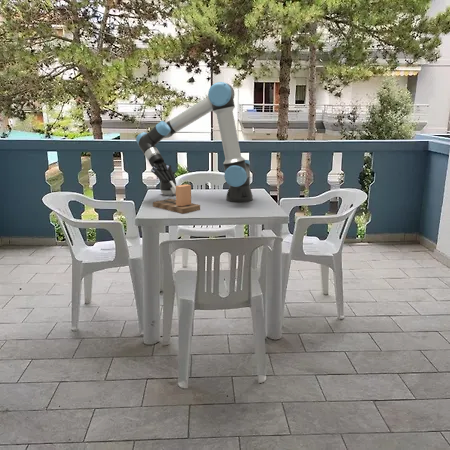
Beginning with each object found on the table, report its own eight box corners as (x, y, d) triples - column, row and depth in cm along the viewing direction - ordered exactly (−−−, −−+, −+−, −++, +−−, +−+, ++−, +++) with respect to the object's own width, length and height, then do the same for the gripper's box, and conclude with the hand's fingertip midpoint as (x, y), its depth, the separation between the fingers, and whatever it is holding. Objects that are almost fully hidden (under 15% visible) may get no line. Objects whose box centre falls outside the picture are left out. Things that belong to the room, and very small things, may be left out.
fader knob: (176, 205, 229) (175, 186, 227) (186, 203, 234) (185, 184, 232) (181, 206, 227) (180, 187, 224) (191, 204, 232) (190, 185, 229)
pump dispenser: (169, 197, 263) (168, 171, 259) (156, 195, 269) (155, 170, 265) (180, 194, 271) (180, 169, 267) (167, 192, 277) (166, 168, 273)
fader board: (153, 206, 239) (153, 201, 238) (170, 203, 247) (170, 198, 247) (182, 213, 223) (182, 208, 222) (200, 209, 231) (200, 204, 231)
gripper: (160, 161, 246) (182, 194, 240) (141, 163, 237) (163, 198, 230) (166, 152, 241) (188, 186, 235) (147, 154, 232) (169, 189, 226)
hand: (175, 192), depth 233 cm, fingers closed
